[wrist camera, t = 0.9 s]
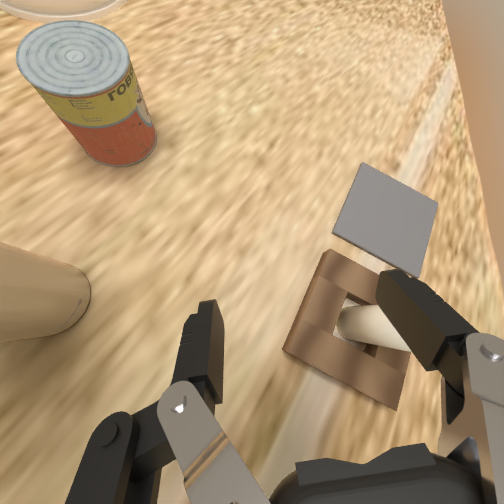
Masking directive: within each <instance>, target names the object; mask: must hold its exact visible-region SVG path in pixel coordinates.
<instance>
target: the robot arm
mask: <svg viewBox="0 0 504 504" xmlns="http://www.w3.org/2000/svg"><path fill="white" fill-rule="evenodd" d="M375 298H376V302H377V304H378V306H379V307H380V309H381V310H382V312H383V313H384V314H385V316H386V317H387V318H388V320H389V321H390V322H391V324H392V325H393V327H394V328H395V329H396V331H397V332H398V333H399V335H400V336H401V337H402V339H403V340H404V341H405V343H406V344H407V346H408V347H409V348H410V350H411V351H412V352H413V354H414V355H415V356H416V358H417V359H418V361H419V362H420V363H421V365H422V366H423V367H424V369H425V370H426V371H433V370H439V371H440V373H441V374H442V377H441V410H442V429H441V434H440V437H439V441H438V448H437V454H434V453H431V452H430V451H429V450H428V448H427V446H426V444H425V443H420V444H414V445H407V446H401V447H394V448H391V449H390V450H388V451H386V452H385V453H383V454H381V455H380V456H378V457H376V458H375V459H373V460H371V461H370V462H368V463H366V464H357V463H351V462H346V461H341V460H335V459H330V458H323V459H317V460H310V461H304V462H297V463H295V464H296V471H294V472H292V473H291V474H289V475H288V476H287V477H286V478H285V479H283V480H282V482H281V483H280V484H279V485H278V486H277V487H276V489H275V490H274V492H273V493H272V495H271V497H270V499H269V500H268V499H267V497H266V496H265V494H264V492H263V491H262V489H261V488H260V486H259V485H258V483H257V482H256V480H255V479H254V477H253V476H252V474H251V472H250V471H249V469H248V468H247V466H246V465H245V463H244V462H243V460H242V459H241V457H240V456H239V454H238V452H237V451H236V449H235V448H234V446H233V445H232V443H231V442H230V440H229V439H228V437H227V436H226V434H225V433H224V431H223V430H222V428H221V427H220V425H219V424H218V422H217V421H216V419H215V417H214V414H215V404H221V403H222V400H223V366H224V322H223V318H222V315H221V313H220V310H219V307H218V304H217V301H216V300H215V299H213V300H208V301H202V302H200V303H199V307H198V313H197V314H191V315H190V316H189V318H188V319H187V321H186V322H185V324H184V327H183V332H182V337H181V341H180V346H179V351H178V355H177V360H176V365H175V369H174V374H173V379H172V382H171V384H170V386H169V387H168V388H167V389H166V390H165V392H164V393H163V394H162V396H161V398H160V399H159V400H158V401H157V402H155V403H153V404H152V405H150V406H148V407H146V408H144V409H142V410H140V411H138V412H137V413H135V414H133V415H131V416H130V415H129V414H128V413H126V412H122V411H121V412H116V413H113V414H111V415H110V416H108V417H107V418H105V419H104V420H103V421H102V422H101V423H100V424H99V425H98V426H97V428H96V429H95V430H94V432H93V433H92V435H91V437H90V439H89V442H88V444H87V447H86V450H85V452H84V455H83V457H82V460H81V463H80V465H79V468H78V471H77V473H76V476H75V479H74V481H73V484H72V486H71V489H70V492H69V494H68V497H67V500H66V502H65V504H157V499H158V492H159V485H160V478H161V471H162V467H164V466H165V465H167V464H168V463H170V462H172V461H173V460H175V459H177V461H178V463H179V466H180V468H181V470H182V473H183V476H184V486H185V489H186V492H187V495H188V497H189V500H190V502H191V504H504V340H502V339H500V338H498V337H496V336H493V335H490V334H486V333H480V332H478V331H477V330H476V329H475V328H474V327H473V326H472V325H470V324H469V323H468V322H467V321H466V320H465V319H464V318H463V317H462V316H461V315H460V314H458V313H457V312H456V311H455V310H454V309H453V308H452V307H451V306H450V305H449V304H447V303H446V302H444V300H443V299H442V298H441V297H440V296H439V295H436V293H435V292H434V291H433V290H432V289H431V288H430V287H429V286H428V285H427V284H425V283H423V282H421V281H420V280H418V279H416V278H414V277H412V278H410V277H409V276H408V275H407V274H406V273H405V272H404V271H402V270H401V269H392V270H386V271H382V272H380V275H379V279H378V284H377V288H376V293H375ZM89 300H90V285H89V282H88V280H87V278H86V277H85V275H84V274H83V273H82V272H81V271H80V270H79V269H77V268H75V267H73V266H71V265H68V264H65V263H62V262H59V261H56V260H52V259H50V258H47V257H44V256H41V255H38V254H35V253H32V252H28V251H25V250H22V249H19V248H16V247H13V246H10V245H7V244H4V243H1V242H0V342H7V341H14V340H23V339H30V338H37V337H44V336H51V335H55V334H58V333H61V332H63V331H64V330H66V329H68V328H70V327H71V326H72V325H73V324H75V323H76V322H77V321H78V320H79V319H80V318H81V316H82V315H83V313H84V312H85V310H86V309H87V306H88V303H89Z"/></svg>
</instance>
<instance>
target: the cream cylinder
mask: <svg viewBox="0 0 504 504" xmlns="http://www.w3.org/2000/svg"><path fill="white" fill-rule="evenodd" d="M336 327H337V329H338V331H339V333H340V334H341V335H342V336H343V337H344V338H346V339H349V340H354V341H359V342H364V343H369V344H374V345H379V346H384V347H389V348H394V349H399V350H404V351H409V352H412V351H411V350H410V348H409V347H408V346H407V344H406V343H405V341H404V340H403V339H402V337H401V336H400V335H399V333H398V332H397V331H396V329H395V328H394V327H393V325H392V324H391V322H390V321H389V320H388V318H387V317H386V316H385V314H384V313H383V312H382V310H381V309H380V307H379V306H378V305H367V306H348V307H344V308H342V309H341V311H340V314H339V317H338V320H337V322H336Z"/></svg>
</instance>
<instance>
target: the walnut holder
mask: <svg viewBox="0 0 504 504" xmlns="http://www.w3.org/2000/svg"><path fill="white" fill-rule="evenodd" d="M378 279H379V275H378V274H376V273H374V272H373V271H371V270H369V269H367V268H365V267H363V266H362V265H360V264H358V263H356V262H354V261H352V260H350V259H349V258H347V257H345V256H343V255H341V254H339V253H337V252H336V251H334V250H332V249H329V250H327V251H326V252H324V253H323V254H322V257H321V259H320V261H319V264H318V266H317V268H316V271H315V273H314V275H313V278H312V280H311V282H310V285H309V287H308V289H307V292H306V294H305V296H304V299H303V301H302V303H301V306H300V308H299V311H298V313H297V315H296V318H295V320H294V322H293V325H292V327H291V329H290V332H289V334H288V336H287V339H286V341H285V343H284V346H283V348H282V349H283V350H284V351H286V352H288V353H290V354H292V355H294V356H295V357H297V358H299V359H301V360H303V361H305V362H306V363H308V364H310V365H312V366H314V367H316V368H318V369H319V370H321V371H323V372H325V373H327V374H329V375H330V376H332V377H334V378H336V379H338V380H340V381H342V382H343V383H345V384H347V385H349V386H351V387H353V388H354V389H356V390H358V391H360V392H362V393H364V394H366V395H367V396H369V397H371V398H373V399H375V400H377V401H378V402H380V403H382V404H384V405H386V406H388V407H390V408H391V409H393V410H395V411H397V407H398V403H399V399H400V395H401V391H402V387H403V383H404V379H405V375H406V370H407V366H408V362H409V358H410V354H411V352H409V351H404V350H399V349H394V348H389V347H384V346H379V345H374V344H369V343H367V345H366V348H365V351H364V352H363V351H361V350H359V349H357V348H355V347H354V346H352V345H350V344H348V343H346V342H344V341H342V340H341V339H339V338H337V337H335V336H333V335H332V333H333V331H334V328H335V325H336V322H337V320H338V317H339V314H340V311H341V309H342V306H343V303H344V300H345V298H346V297H347V298H349V299H351V300H353V301H355V302H357V303H358V304H360V305H362V306H367V305H378V304H377V302H376V298H375V293H376V288H377V284H378Z"/></svg>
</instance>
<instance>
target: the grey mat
mask: <svg viewBox="0 0 504 504" xmlns="http://www.w3.org/2000/svg"><path fill="white" fill-rule="evenodd" d="M437 207H438V202H436V201H434V200H432V199H430V198H428V197H427V196H425V195H423V194H421V193H419V192H417V191H416V190H414V189H412V188H410V187H408V186H406V185H404V184H403V183H401V182H399V181H397V180H395V179H393V178H391V177H390V176H388V175H386V174H384V173H382V172H380V171H379V170H377V169H375V168H373V167H371V166H369V165H367V164H366V163H364V162H362V163H361V165H360V167H359V170H358V172H357V174H356V177H355V179H354V181H353V184H352V186H351V188H350V191H349V193H348V195H347V198H346V200H345V202H344V205H343V207H342V210H341V212H340V214H339V217H338V219H337V221H336V224H335V226H334V228H333V231H332V233H333V234H335V235H336V236H338V237H340V238H342V239H344V240H346V241H347V242H349V243H351V244H353V245H355V246H357V247H359V248H360V249H362V250H364V251H366V252H368V253H370V254H371V255H373V256H375V257H377V258H379V259H381V260H383V261H384V262H386V263H388V264H390V265H392V266H394V267H396V268H397V269H401V270H402V271H404V272H405V273H407V274H408V275H410V276H412V277H414V278H419V276H420V272H421V268H422V264H423V261H424V257H425V253H426V249H427V245H428V241H429V237H430V234H431V230H432V226H433V222H434V218H435V214H436V210H437Z"/></svg>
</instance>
